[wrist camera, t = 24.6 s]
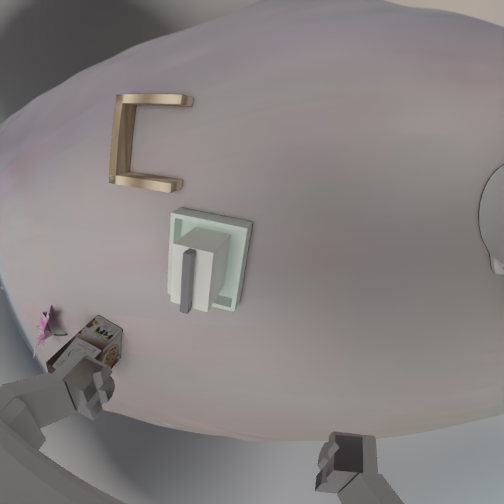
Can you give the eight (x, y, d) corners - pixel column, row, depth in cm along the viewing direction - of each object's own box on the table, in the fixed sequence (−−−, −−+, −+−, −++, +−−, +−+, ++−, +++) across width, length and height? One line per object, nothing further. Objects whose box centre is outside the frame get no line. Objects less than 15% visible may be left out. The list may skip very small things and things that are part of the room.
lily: (72, 305, 55) (32, 308, 47) (78, 358, 55) (40, 364, 47) (55, 301, 62) (21, 303, 54) (61, 348, 61) (28, 352, 53)
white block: (230, 234, 40) (208, 258, 32) (223, 286, 43) (202, 319, 35) (195, 226, 41) (166, 248, 33) (191, 278, 44) (165, 307, 36)
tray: (252, 222, 39) (247, 228, 37) (239, 301, 44) (234, 312, 41) (180, 207, 41) (171, 212, 38) (176, 284, 45) (167, 293, 43)
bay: (193, 97, 35) (182, 94, 32) (182, 188, 40) (170, 192, 37) (130, 96, 36) (116, 94, 33) (122, 179, 41) (108, 182, 38)
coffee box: (97, 313, 52) (44, 361, 38) (123, 328, 52) (73, 382, 37) (96, 344, 56) (52, 391, 41) (121, 359, 56) (78, 410, 41)
